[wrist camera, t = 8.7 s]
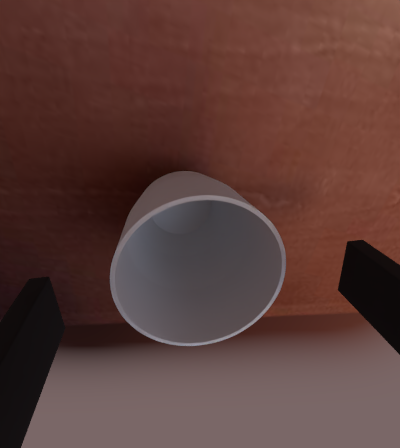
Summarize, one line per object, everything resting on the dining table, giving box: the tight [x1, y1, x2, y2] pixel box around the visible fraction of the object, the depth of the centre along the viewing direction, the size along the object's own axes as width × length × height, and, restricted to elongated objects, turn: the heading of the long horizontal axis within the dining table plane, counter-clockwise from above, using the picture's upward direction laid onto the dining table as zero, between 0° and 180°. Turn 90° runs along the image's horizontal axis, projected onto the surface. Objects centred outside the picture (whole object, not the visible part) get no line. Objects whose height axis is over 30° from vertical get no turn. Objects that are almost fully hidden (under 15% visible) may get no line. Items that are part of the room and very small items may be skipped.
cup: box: [110, 171, 286, 346], centre depth 18 cm, size 8×8×10 cm
